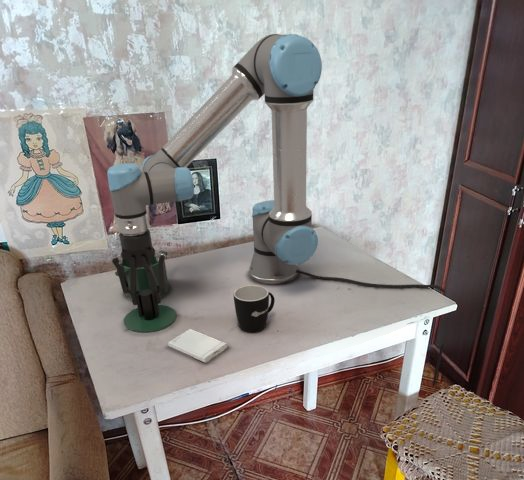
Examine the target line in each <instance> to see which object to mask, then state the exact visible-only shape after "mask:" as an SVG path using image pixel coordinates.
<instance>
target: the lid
mask: <svg viewBox="0 0 524 480" xmlns="http://www.w3.org/2000/svg"><path fill="white" fill-rule="evenodd" d="M139 298H140V303H141V308H142V314H143V316H142V317H139V312H138V307H137V308H134V309H132V310H130V311H129V312H128V313H127V314H126V315H125V316H124V318H123V325H124V327H125V328H126V329H127V330H129V331H131V332H133V333H134V332H135V333H142V334H143V333H145V334H146V333H155V332H159V331H162V330H165V329H167V328H168V327H170V326H172V325H173V324H174V323H175V321H176V320H177V311H176V310H175V309H174V308H173V307H171V306H168V305H164V304H158V306H159V315H158V316H155V310H154V304H153V299H152V291H151V290H142V291H140V292H139Z"/></svg>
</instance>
